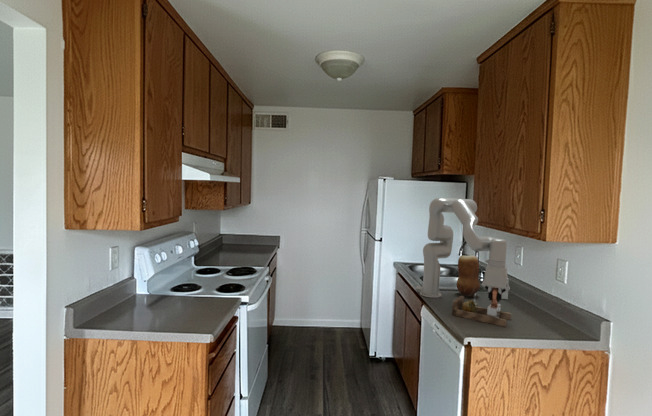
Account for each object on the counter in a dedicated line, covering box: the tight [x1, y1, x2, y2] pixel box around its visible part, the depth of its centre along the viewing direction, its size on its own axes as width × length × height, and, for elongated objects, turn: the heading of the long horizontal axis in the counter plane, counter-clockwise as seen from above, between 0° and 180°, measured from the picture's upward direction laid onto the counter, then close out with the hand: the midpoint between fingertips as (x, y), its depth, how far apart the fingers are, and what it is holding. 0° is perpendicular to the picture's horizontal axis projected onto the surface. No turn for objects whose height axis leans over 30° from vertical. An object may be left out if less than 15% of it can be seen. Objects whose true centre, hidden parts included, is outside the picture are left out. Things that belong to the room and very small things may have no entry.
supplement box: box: [498, 277, 510, 300], centre depth 229 cm, size 7×7×13 cm
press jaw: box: [487, 287, 502, 318], centre depth 186 cm, size 4×10×15 cm, turn 145°
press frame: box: [451, 295, 512, 328], centre depth 190 cm, size 25×14×7 cm, turn 55°
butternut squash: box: [456, 255, 481, 298], centre depth 228 cm, size 14×13×25 cm
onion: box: [461, 299, 479, 313], centre depth 193 cm, size 8×8×8 cm
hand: (494, 300), depth 186 cm, fingers closed on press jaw, 3 cm apart
